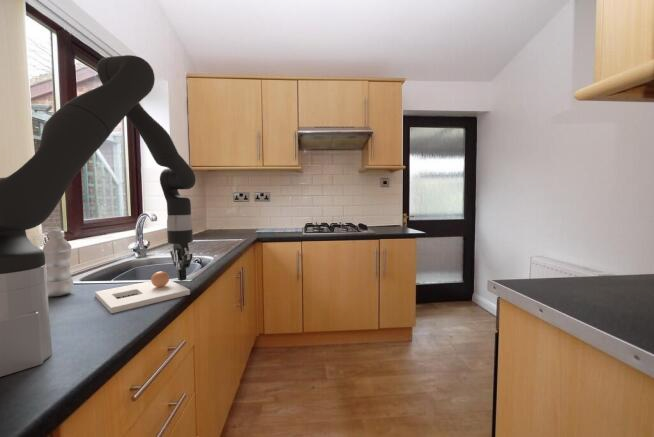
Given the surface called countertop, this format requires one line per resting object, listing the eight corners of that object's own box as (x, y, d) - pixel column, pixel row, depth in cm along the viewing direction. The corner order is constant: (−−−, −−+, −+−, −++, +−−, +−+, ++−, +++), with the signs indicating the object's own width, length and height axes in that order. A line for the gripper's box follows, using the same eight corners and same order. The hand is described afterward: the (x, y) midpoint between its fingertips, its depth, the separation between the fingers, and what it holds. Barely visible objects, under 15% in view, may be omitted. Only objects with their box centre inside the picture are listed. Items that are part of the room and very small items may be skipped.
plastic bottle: (41, 297, 89) (36, 231, 88) (68, 290, 95) (64, 229, 94) (50, 300, 86) (45, 232, 85) (78, 293, 92) (74, 230, 91)
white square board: (190, 294, 90) (189, 289, 90) (111, 313, 76) (111, 307, 75) (166, 282, 104) (165, 278, 104) (95, 296, 89) (95, 291, 89)
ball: (171, 286, 93) (171, 271, 93) (154, 290, 90) (153, 274, 89) (166, 283, 97) (165, 268, 96) (149, 287, 93) (148, 271, 93)
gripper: (200, 228, 95) (202, 281, 96) (183, 226, 104) (185, 274, 105) (175, 230, 90) (178, 286, 91) (160, 228, 99) (162, 278, 100)
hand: (182, 279), depth 98 cm, fingers closed
